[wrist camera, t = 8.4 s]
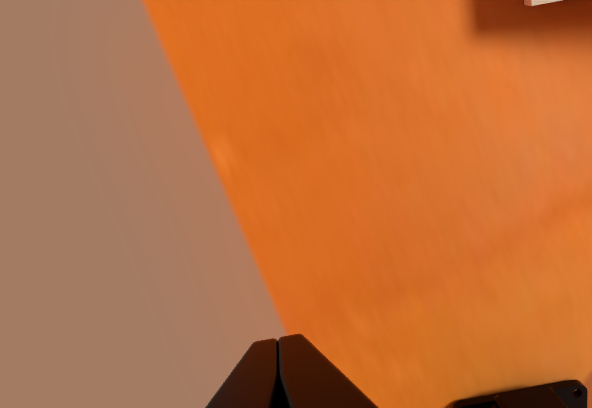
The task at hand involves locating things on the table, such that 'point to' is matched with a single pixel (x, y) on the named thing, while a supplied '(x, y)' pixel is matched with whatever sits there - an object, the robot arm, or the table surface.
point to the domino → (537, 2)
